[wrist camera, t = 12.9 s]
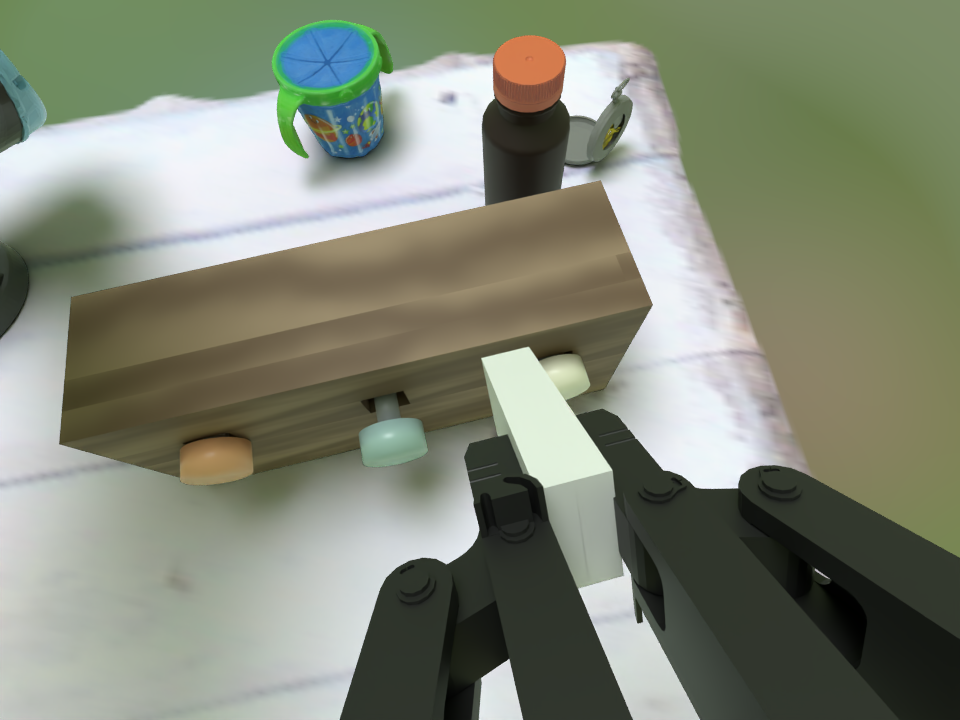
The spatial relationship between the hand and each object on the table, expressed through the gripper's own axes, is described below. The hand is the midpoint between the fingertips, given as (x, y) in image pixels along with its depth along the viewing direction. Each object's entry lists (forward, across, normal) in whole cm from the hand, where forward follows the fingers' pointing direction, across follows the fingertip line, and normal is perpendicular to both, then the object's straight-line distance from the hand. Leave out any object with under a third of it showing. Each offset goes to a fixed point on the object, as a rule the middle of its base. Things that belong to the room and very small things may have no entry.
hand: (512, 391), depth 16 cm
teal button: (+19, -7, -11) cm, 23 cm away
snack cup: (+52, -6, +10) cm, 53 cm away
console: (+29, -6, -12) cm, 32 cm away
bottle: (+38, +9, -3) cm, 39 cm away
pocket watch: (+45, +18, +3) cm, 49 cm away
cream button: (+20, +5, -10) cm, 23 cm away
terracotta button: (+21, -19, -10) cm, 29 cm away
